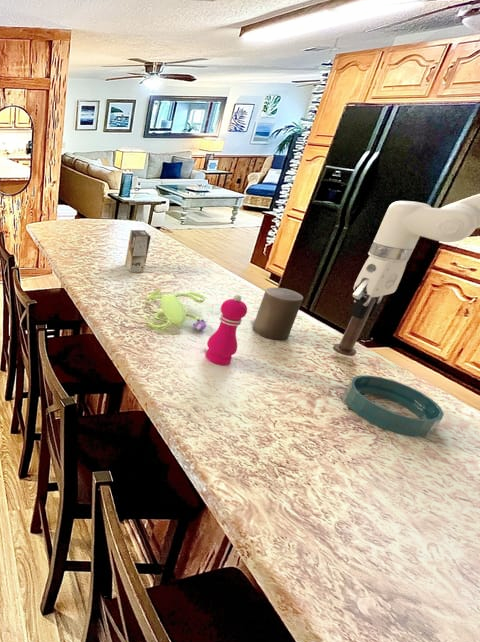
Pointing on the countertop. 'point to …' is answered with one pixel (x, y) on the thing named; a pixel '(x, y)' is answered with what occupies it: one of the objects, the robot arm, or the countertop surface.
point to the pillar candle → (277, 313)
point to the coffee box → (137, 250)
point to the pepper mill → (226, 332)
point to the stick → (353, 333)
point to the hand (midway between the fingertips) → (360, 315)
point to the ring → (399, 394)
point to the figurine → (175, 310)
